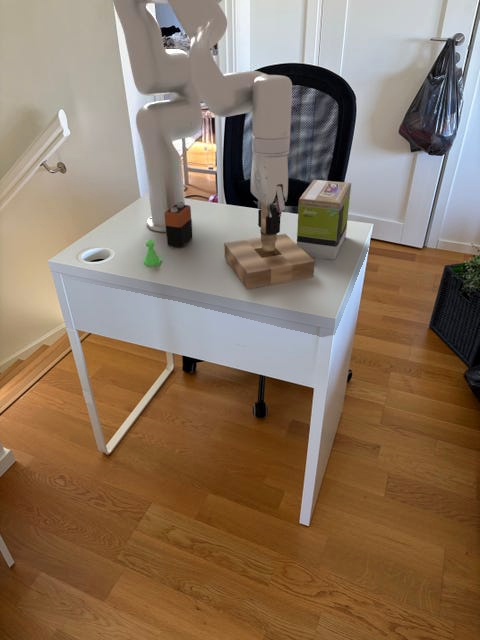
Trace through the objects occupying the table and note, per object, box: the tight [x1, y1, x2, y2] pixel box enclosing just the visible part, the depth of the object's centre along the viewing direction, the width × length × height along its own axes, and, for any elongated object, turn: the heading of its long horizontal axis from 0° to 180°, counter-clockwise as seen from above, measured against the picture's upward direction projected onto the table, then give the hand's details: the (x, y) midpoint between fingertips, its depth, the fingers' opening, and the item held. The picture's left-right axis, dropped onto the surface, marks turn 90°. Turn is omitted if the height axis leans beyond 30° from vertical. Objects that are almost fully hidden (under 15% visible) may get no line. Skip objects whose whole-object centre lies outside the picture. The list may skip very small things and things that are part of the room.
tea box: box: [296, 179, 352, 261], centre depth 115 cm, size 15×10×15 cm, turn 159°
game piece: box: [143, 239, 162, 267], centre depth 110 cm, size 4×4×6 cm
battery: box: [164, 202, 193, 249], centre depth 118 cm, size 4×7×10 cm, turn 160°
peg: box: [259, 200, 278, 251], centre depth 103 cm, size 4×4×13 cm
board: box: [223, 233, 316, 290], centre depth 108 cm, size 16×16×4 cm
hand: (268, 228), depth 104 cm, fingers closed on peg, 3 cm apart
